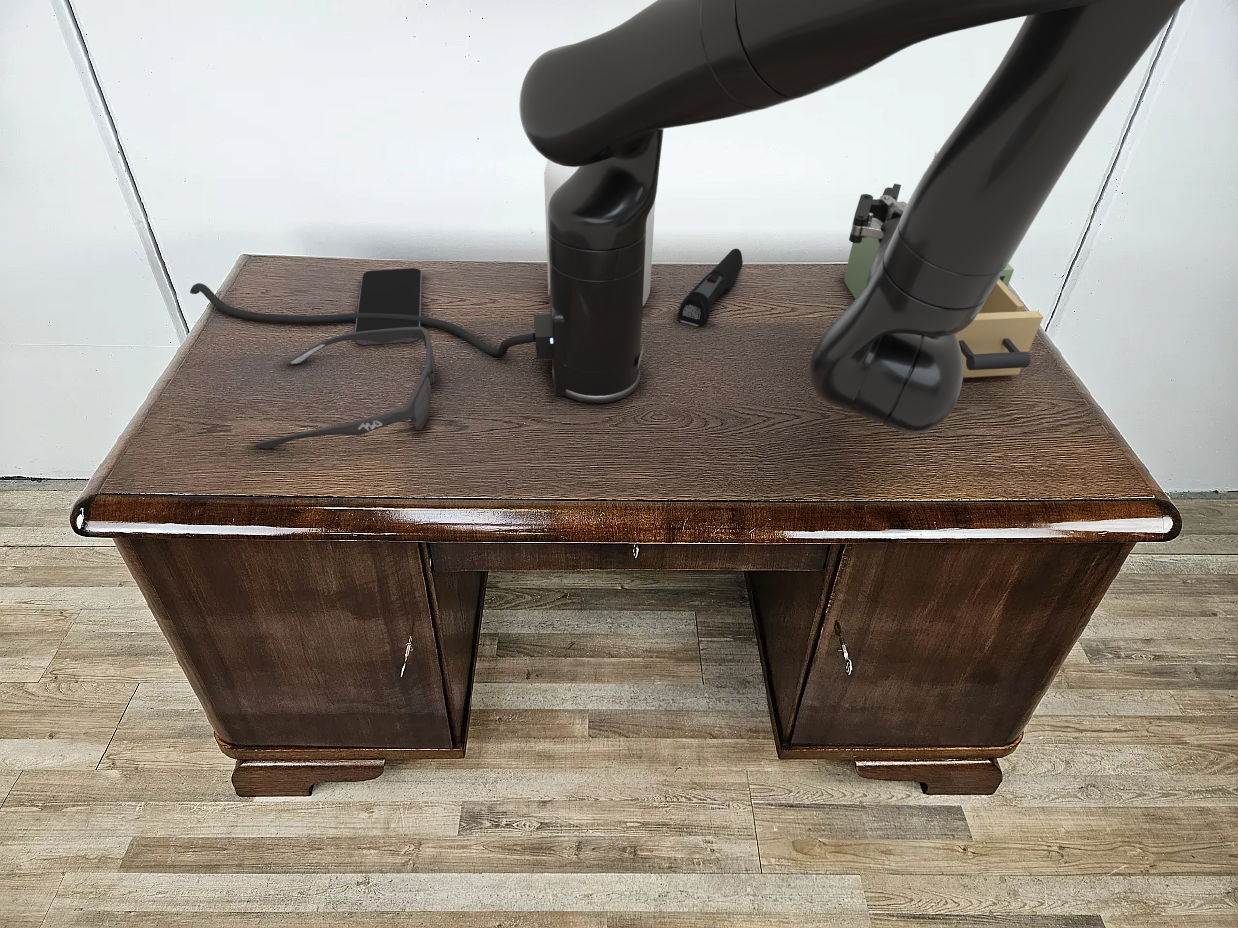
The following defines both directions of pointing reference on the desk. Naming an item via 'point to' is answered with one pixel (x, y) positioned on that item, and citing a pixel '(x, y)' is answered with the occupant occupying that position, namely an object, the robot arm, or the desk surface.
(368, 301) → the smartphone
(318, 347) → the sunglasses
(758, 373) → the desk surface
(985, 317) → the drawer
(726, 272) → the electric trimmer
